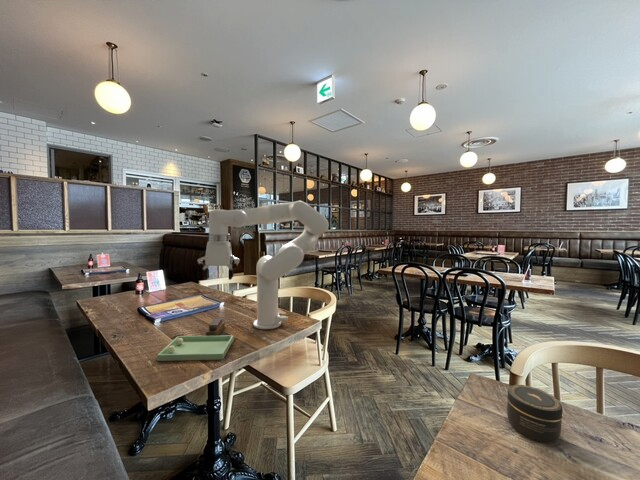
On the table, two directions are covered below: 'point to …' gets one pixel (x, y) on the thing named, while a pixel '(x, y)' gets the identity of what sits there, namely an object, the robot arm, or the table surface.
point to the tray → (197, 348)
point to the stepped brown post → (215, 327)
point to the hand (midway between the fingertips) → (218, 279)
